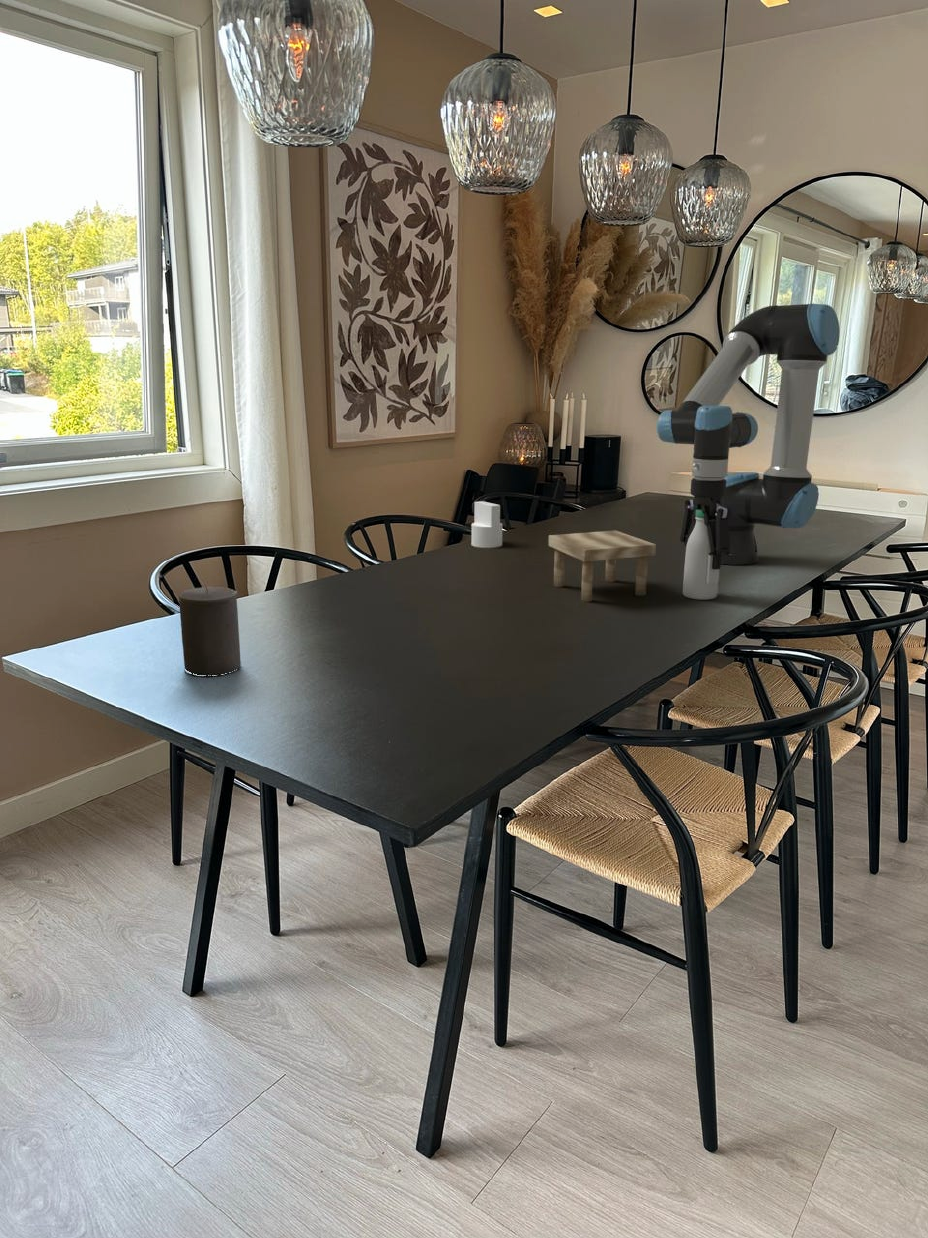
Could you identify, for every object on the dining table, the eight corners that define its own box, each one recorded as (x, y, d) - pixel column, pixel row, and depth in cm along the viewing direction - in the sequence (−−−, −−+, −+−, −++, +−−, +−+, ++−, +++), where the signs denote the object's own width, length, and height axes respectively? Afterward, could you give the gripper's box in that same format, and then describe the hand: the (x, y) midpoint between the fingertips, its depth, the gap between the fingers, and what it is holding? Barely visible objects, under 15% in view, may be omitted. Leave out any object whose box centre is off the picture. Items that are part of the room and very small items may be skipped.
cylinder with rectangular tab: (508, 545, 258) (509, 504, 254) (483, 549, 253) (483, 507, 250) (490, 540, 265) (490, 500, 262) (465, 543, 260) (465, 502, 257)
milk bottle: (718, 601, 199) (725, 512, 193) (682, 599, 200) (689, 511, 195) (716, 592, 206) (723, 507, 200) (681, 591, 208) (688, 506, 202)
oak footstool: (613, 578, 220) (615, 530, 216) (652, 595, 204) (655, 544, 200) (547, 584, 214) (548, 535, 210) (582, 603, 198) (584, 550, 194)
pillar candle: (188, 680, 151) (181, 595, 146) (181, 662, 159) (174, 581, 155) (246, 673, 154) (241, 590, 150) (236, 656, 163) (231, 577, 159)
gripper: (668, 473, 204) (662, 570, 210) (723, 484, 185) (714, 590, 192) (696, 471, 206) (689, 567, 213) (753, 483, 188) (743, 587, 194)
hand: (701, 578), depth 202 cm, fingers closed on milk bottle, 8 cm apart
